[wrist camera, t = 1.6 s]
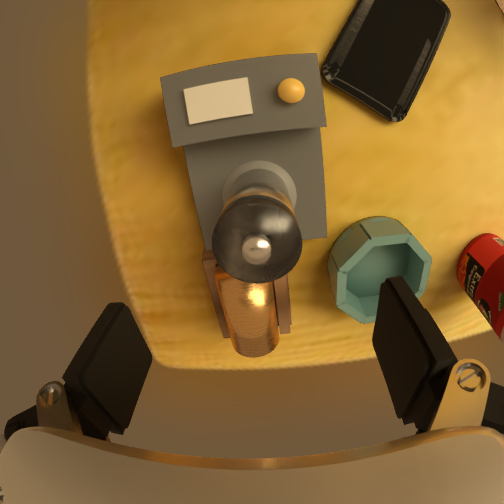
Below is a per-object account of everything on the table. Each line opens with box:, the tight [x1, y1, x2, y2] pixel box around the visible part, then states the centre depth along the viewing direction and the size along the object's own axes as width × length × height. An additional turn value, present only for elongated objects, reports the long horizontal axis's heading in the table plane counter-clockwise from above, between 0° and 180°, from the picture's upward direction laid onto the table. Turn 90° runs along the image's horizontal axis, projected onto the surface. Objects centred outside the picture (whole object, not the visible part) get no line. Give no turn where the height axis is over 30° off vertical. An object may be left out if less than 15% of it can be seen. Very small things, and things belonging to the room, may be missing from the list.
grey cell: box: [212, 169, 302, 284], centre depth 17 cm, size 4×4×9 cm
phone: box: [321, 0, 451, 122], centre depth 15 cm, size 8×1×15 cm
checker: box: [160, 53, 327, 250], centre depth 19 cm, size 14×10×5 cm
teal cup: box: [328, 216, 432, 324], centre depth 24 cm, size 9×9×4 cm
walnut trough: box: [202, 248, 292, 338], centre depth 26 cm, size 9×7×3 cm
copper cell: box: [214, 265, 279, 357], centre depth 24 cm, size 9×4×4 cm, turn 8°
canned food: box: [457, 233, 504, 343], centre depth 20 cm, size 8×8×11 cm
